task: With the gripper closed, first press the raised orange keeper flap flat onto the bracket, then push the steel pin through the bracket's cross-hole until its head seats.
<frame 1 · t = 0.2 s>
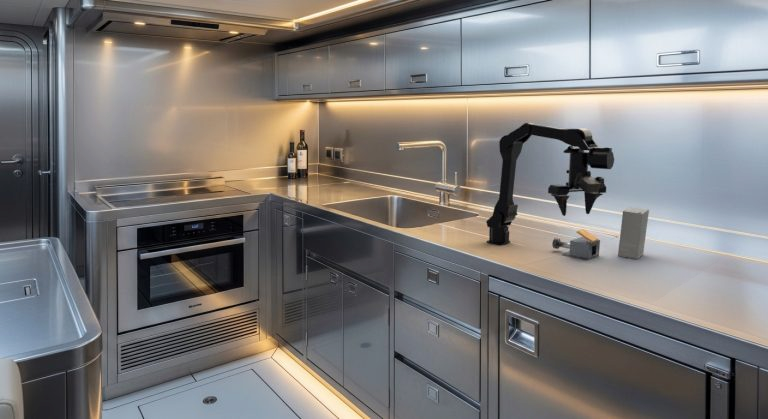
hand: (575, 214, 176), 14 cm above the worktop, fingers open, 9 cm apart
skincare box: (631, 256, 179), on the worktop
bracket: (584, 256, 179), on the worktop
pin: (570, 245, 182), point 3 cm above the worktop, slide at 0.0 cm
keeper flap: (587, 235, 177), point 7 cm above the worktop, hinge at 25.0°
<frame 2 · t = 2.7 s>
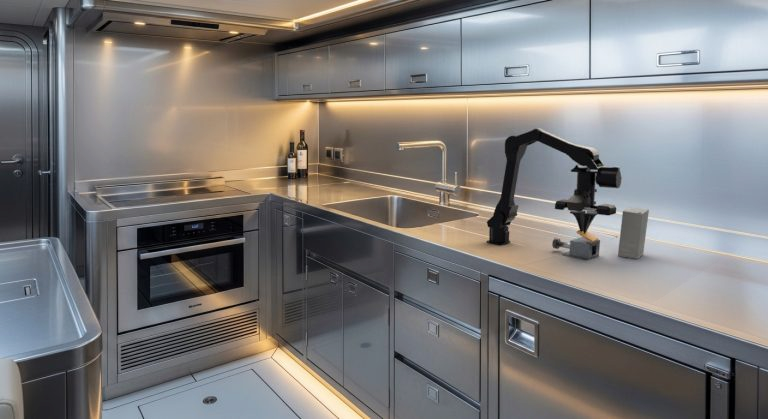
hand: (583, 232, 178), 8 cm above the worktop, fingers closed, pressing on keeper flap
keeper flap: (587, 235, 177), point 7 cm above the worktop, hinge at 24.2°, touching gripper
everything else where it was.
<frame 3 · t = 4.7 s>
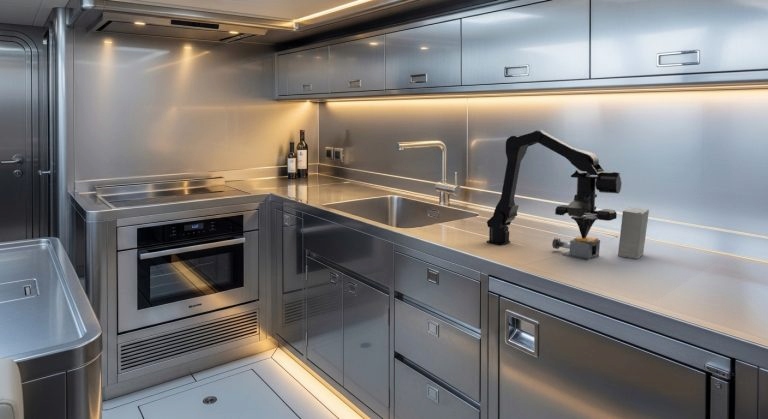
hand: (583, 238, 178), 6 cm above the worktop, fingers closed
keeper flap: (585, 239, 178), point 6 cm above the worktop, hinge at -2.0°, touching bracket
everything else where it was.
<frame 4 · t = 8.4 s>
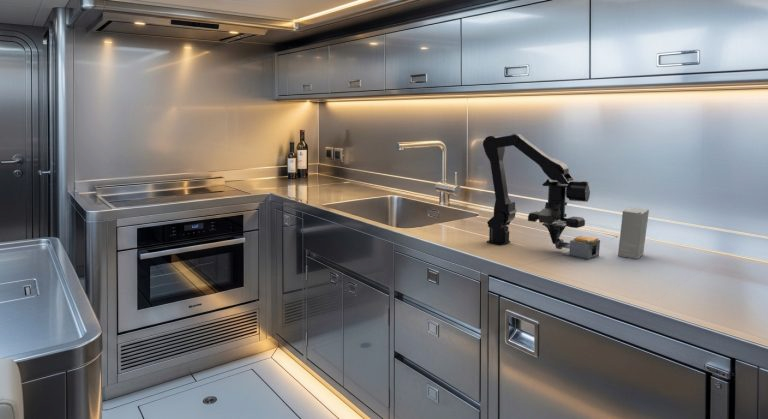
hand: (554, 243, 186), 2 cm above the worktop, fingers closed
pin: (573, 246, 181), point 3 cm above the worktop, slide at 1.1 cm, touching gripper
keeper flap: (585, 239, 178), point 6 cm above the worktop, hinge at -1.6°, touching bracket
everything else where it was.
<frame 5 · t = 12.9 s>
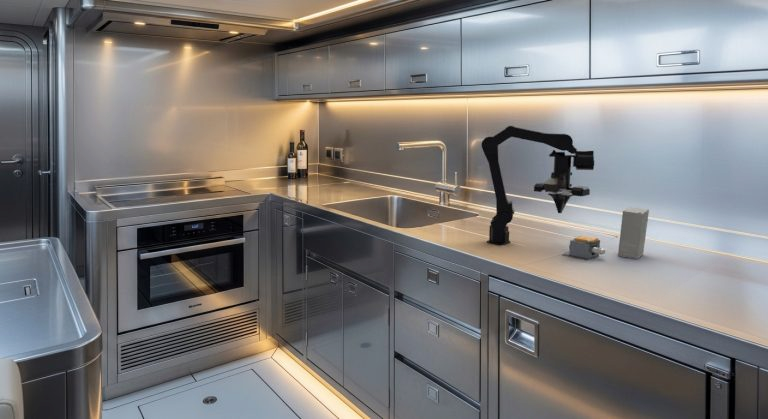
hand: (559, 213, 191), 12 cm above the worktop, fingers closed
pin: (587, 249, 177), point 3 cm above the worktop, slide at 6.2 cm
everything else where it was.
at the end: pin slide at 6.2 cm; keeper flap at -2° (first picture: +25°) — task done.
